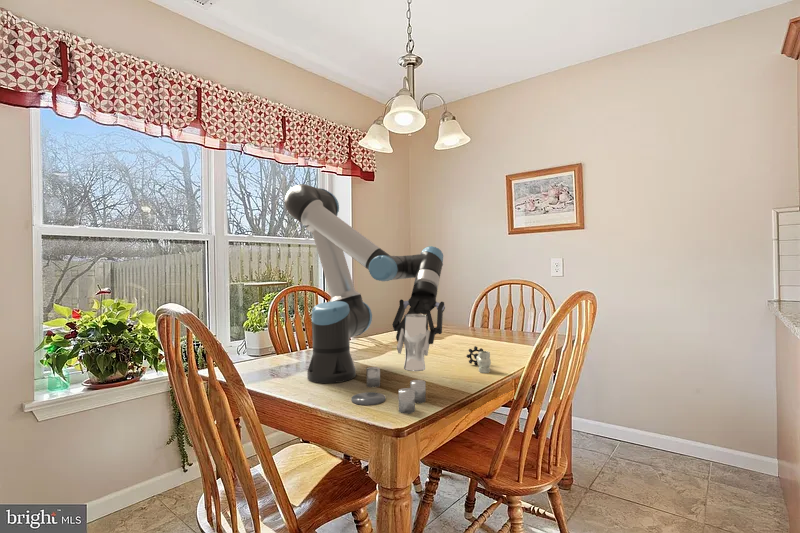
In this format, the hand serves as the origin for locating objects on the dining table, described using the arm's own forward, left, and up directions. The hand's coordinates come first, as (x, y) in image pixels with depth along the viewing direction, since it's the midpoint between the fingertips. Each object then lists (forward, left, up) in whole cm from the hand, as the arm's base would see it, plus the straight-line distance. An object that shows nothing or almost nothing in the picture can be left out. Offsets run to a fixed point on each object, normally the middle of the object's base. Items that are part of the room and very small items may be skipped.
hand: (412, 351), depth 120 cm
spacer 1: (-13, +7, -12) cm, 19 cm away
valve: (+16, +33, -12) cm, 38 cm away
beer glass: (0, +4, -6) cm, 7 cm away
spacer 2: (+2, -12, -12) cm, 17 cm away
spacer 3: (+3, -4, -12) cm, 13 cm away
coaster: (-10, -6, -12) cm, 17 cm away
